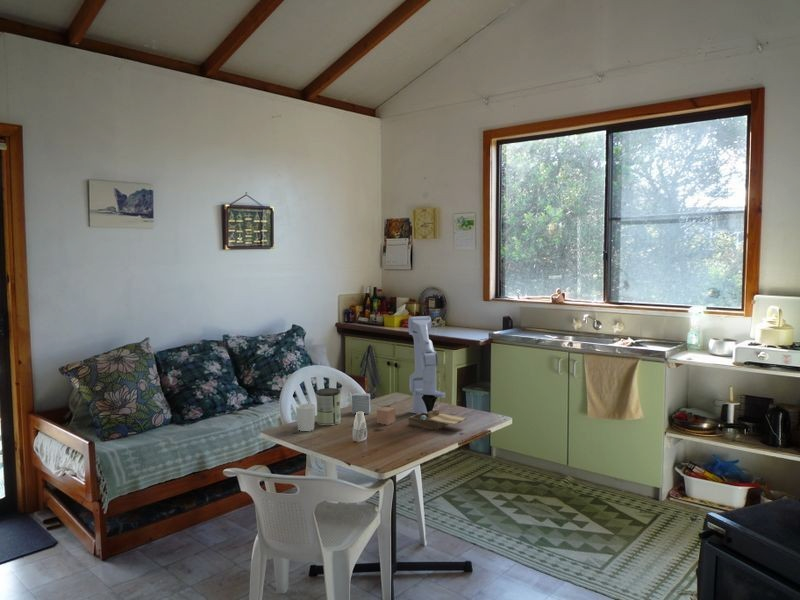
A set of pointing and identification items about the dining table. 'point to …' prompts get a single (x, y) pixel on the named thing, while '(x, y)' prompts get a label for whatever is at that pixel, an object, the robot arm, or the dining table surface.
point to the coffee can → (328, 406)
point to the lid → (444, 417)
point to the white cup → (305, 417)
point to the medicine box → (361, 403)
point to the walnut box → (424, 422)
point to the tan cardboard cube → (386, 415)
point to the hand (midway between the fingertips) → (429, 412)
